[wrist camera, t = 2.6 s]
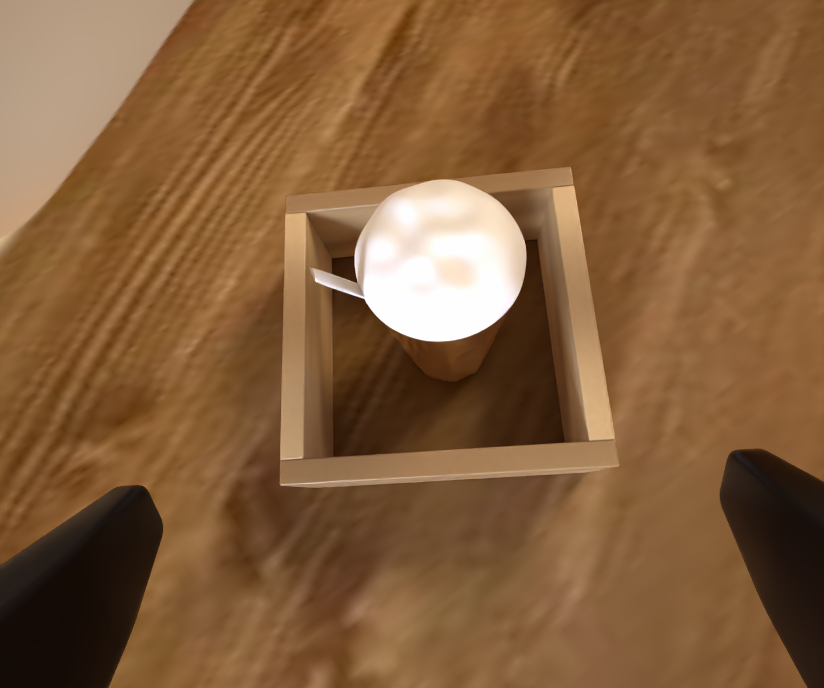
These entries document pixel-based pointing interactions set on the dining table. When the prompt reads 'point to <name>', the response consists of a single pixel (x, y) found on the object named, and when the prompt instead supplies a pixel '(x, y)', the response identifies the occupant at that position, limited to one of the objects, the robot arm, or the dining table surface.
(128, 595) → the robot arm
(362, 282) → the milkshake
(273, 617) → the dining table surface
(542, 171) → the crate
